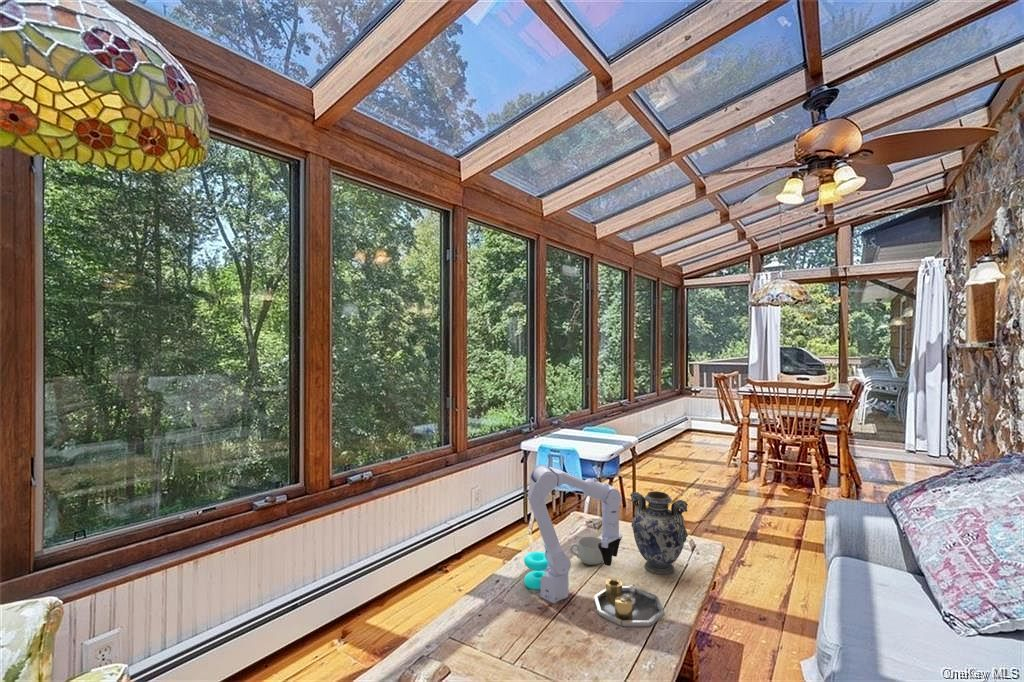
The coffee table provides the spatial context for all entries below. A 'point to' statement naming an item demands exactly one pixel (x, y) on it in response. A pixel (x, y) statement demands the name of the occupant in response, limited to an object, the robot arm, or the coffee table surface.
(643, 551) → the decorative vase
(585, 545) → the teacup
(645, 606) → the tray
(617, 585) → the gear
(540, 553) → the donuts
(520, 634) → the coffee table surface
